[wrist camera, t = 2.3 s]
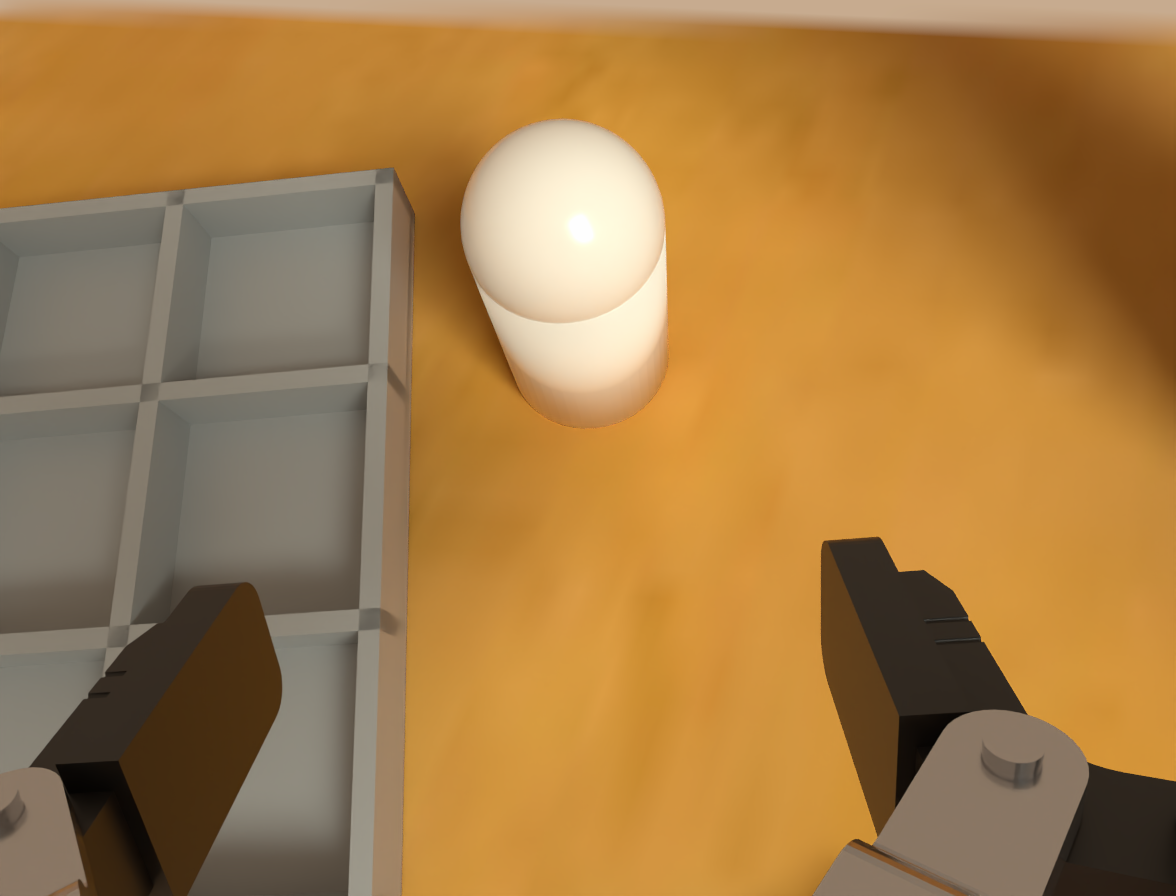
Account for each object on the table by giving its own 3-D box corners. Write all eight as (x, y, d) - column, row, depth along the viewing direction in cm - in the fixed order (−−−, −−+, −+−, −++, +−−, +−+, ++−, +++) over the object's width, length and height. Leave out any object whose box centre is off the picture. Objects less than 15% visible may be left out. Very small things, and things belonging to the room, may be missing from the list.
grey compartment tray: (414, 213, 33) (393, 167, 30) (401, 910, 25) (370, 923, 22) (17, 253, 34) (-34, 212, 31) (-118, 935, 26) (-201, 949, 23)
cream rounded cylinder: (662, 279, 31) (654, 60, 22) (675, 421, 29) (672, 248, 20) (510, 293, 31) (438, 83, 22) (513, 434, 29) (436, 270, 20)
